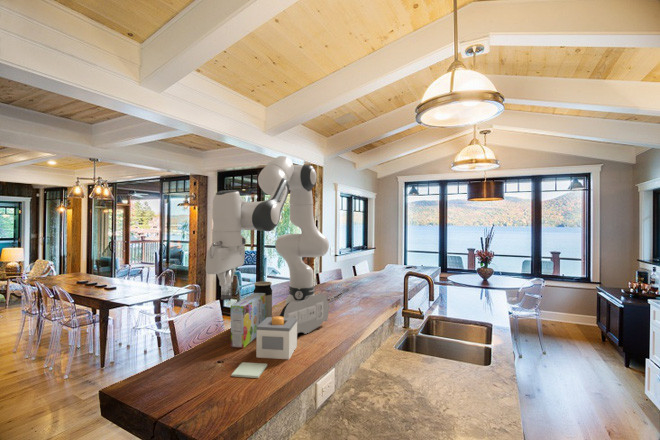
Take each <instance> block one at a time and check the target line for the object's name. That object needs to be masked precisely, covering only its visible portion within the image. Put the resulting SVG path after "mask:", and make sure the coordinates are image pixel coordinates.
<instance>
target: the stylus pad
mask: <svg viewBox="0 0 660 440" xmlns="http://www.w3.org/2000/svg"><path fill="white" fill-rule="evenodd" d="M267 367H268V363H261V362H260V363H259V362H243V361H242V362H241V363H240V364H239V365H238V366H237V368H235V369H234V371H233V372H232V373H231V375H230V376H231V377H237V378H248V379H249V378H252V379H254V378H255V379H259V378H260V376H261V375H262V374H263V372H264V371H265V369H266V368H267Z"/></svg>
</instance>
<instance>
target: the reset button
mask: <svg viewBox="0 0 660 440" xmlns="http://www.w3.org/2000/svg"><path fill="white" fill-rule="evenodd" d="M272 317H273V318H272V325H284V317H281V316H280V315H277V316H272Z"/></svg>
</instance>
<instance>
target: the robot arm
mask: <svg viewBox="0 0 660 440" xmlns="http://www.w3.org/2000/svg"><path fill="white" fill-rule="evenodd" d="M317 174H318V173H317V171H316V168H314V166H313V165H310V164H294V163H293V162H292V160H291V159H290V158H289V157H287V156H286V155H285V156H284V155H280V156H277V157H275V158H273V159H272V160H270V161H269V162H268V163H267V165H265V166H264V167H263V168H262V169H261V171H260V172H259V174H258V176H257V183H258V186H259V188H260V189H261V191H262V192H263V193H265V195H268V196H270V197H269V199H267V200H263V201H246V200H244V199H243V198H242V197H241V195H240V191H238V190H235V189H228V190H219V191H217V192H216V193H215V194H214V196H213V200H212V209H211V218H212V222H213V225H212V229H211V245H210V247H209V248H208V250H207V253H206V259H205V272H206V274H207V275H216V276H217V278H218V280H219V286H220V287H221V286H225V285H227V280H226V278H225V275H226V271H228V270H231V284H233V281H234V276H235V272H236V269H237V268H241V267H242V266H243V265H244V263H245V259H246V258H245V256H246V255H245V253H246V244H247V239H246V237H244V236H243V235H242V231H244V230H245V231H261V232H272V231H273V230H274V229H275V228H276V227H277V226H278V224H279V223H280V219H281V214H282V213H281V212H282V210H283V208H284V205H285V204H286V201H287V198H288V196H289V220H290V222H291V224H292V225H293V226H296V227H297V228H299V230H300V232H301V233H285V234H282V235H281V234H280V235H279V236H278V238H277V239H276V241H275V244H274V245H275V250H276V252H277V254H278V255H280V256H281V257H282V258H283V260H284V261H285V262H286V265H287V267H288V271H289V286H288V294H289V295H287V297H286V298H285V306H286V305H287V304H288V303H289V302H298V301H301V300H304V299H306V298H307V297H308V296H313V295H315V286H314V270H313V268H312V267H311V266H310V265H308V264H306V263H305V261H304V260H303V258H319V257H323V256H325V255H327V253H328V251H329V249H330V248H329V247H330V243H329V240H328V238H327V237H326V236H325V235H324V234H323V233H321V231H320V230H319V228H318V227H317V226H316V223H315V216H314V198H313V191H312V189H313V188H314V187H315V186H316V185H317V181H318V180H317V179H318V175H317ZM289 191H290V193H289Z"/></svg>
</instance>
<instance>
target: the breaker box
mask: <svg viewBox="0 0 660 440" xmlns="http://www.w3.org/2000/svg"><path fill="white" fill-rule="evenodd" d="M273 317H274V316H272V317H267V318H266V319H265V320H264V321H262V322H261V323H260V324H259V325H258V326H257V337H256V344H255V345H256V352H255V353H256V355H255V356H256V358H261V359H279V360H280V359H281V360H290V359H291V357H292V355H293V354H294V352H295V351H296V349H297V347H298V333H297V318H284V325H272V318H273ZM294 350H295V351H294Z"/></svg>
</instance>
